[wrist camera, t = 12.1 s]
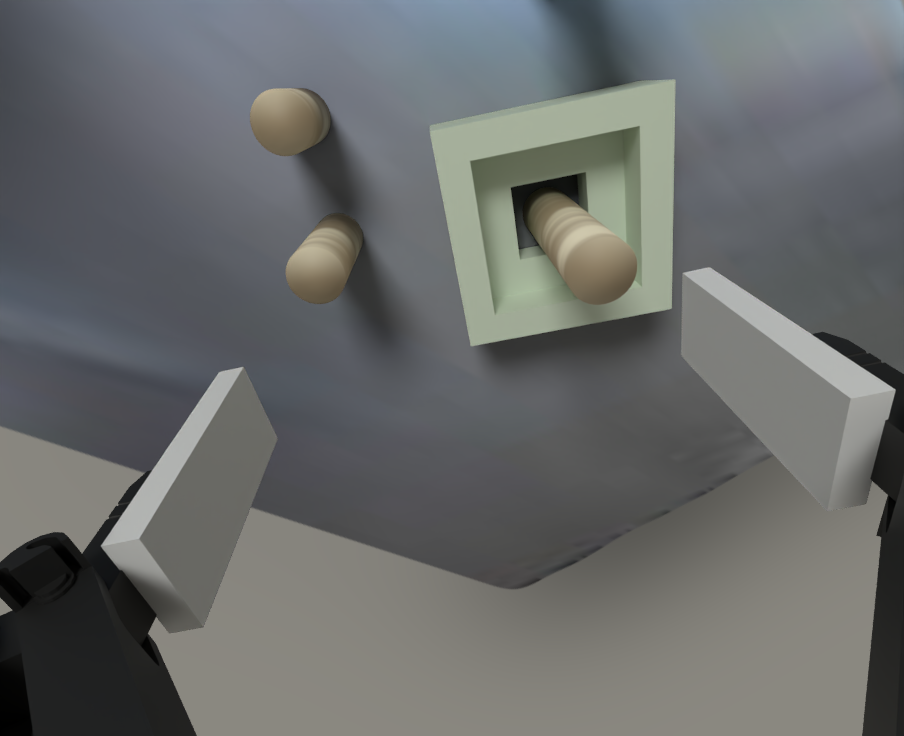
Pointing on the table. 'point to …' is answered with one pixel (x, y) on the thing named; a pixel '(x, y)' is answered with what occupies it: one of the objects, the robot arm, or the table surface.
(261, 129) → the short birch dowel
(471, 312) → the sage socket block
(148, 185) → the table surface
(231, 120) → the table surface
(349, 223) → the medium birch dowel
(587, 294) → the long birch dowel
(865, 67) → the table surface
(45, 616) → the robot arm
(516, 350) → the table surface
